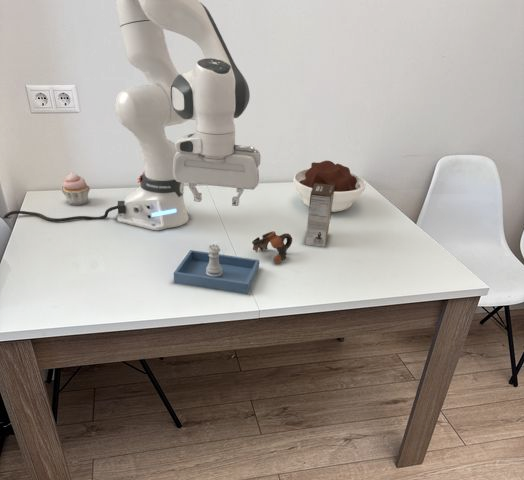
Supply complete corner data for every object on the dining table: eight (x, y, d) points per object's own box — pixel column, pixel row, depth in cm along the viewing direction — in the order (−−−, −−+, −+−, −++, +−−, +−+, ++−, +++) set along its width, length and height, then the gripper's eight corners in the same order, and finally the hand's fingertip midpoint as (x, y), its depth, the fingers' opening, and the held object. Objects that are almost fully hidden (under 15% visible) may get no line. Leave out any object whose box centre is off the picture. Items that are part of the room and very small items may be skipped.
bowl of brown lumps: (374, 207, 176) (382, 164, 167) (334, 226, 160) (341, 180, 151) (318, 188, 188) (323, 147, 179) (276, 204, 173) (279, 161, 164)
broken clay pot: (269, 269, 136) (257, 242, 133) (255, 269, 144) (243, 243, 141) (303, 250, 139) (292, 223, 136) (287, 251, 148) (276, 226, 145)
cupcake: (87, 195, 170) (82, 166, 164) (95, 204, 164) (91, 174, 158) (60, 199, 166) (54, 169, 160) (67, 209, 160) (61, 178, 154)
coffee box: (308, 232, 156) (314, 182, 146) (328, 235, 155) (335, 184, 145) (304, 244, 148) (310, 192, 139) (325, 247, 148) (332, 195, 138)
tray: (174, 283, 126) (173, 272, 125) (190, 259, 137) (190, 249, 135) (247, 294, 124) (248, 284, 122) (258, 269, 134) (259, 259, 133)
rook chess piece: (215, 268, 133) (214, 241, 128) (226, 274, 130) (226, 247, 125) (202, 273, 130) (201, 245, 125) (213, 279, 128) (212, 251, 123)
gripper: (263, 143, 112) (261, 202, 120) (177, 135, 114) (180, 194, 122) (258, 151, 107) (256, 212, 115) (168, 142, 109) (172, 203, 117)
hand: (216, 203), depth 119 cm, fingers open, 8 cm apart
